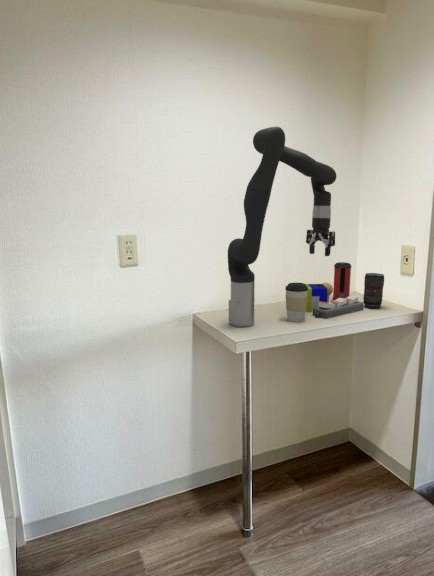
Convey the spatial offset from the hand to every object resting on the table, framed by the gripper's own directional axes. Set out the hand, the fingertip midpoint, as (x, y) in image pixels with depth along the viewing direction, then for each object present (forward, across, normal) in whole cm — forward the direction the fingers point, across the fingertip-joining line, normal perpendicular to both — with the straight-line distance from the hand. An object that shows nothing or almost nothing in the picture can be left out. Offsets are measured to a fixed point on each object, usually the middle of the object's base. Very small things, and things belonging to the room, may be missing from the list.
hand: (319, 254), depth 182 cm
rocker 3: (+20, +9, +11) cm, 25 cm away
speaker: (+24, -4, +20) cm, 31 cm away
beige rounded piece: (+24, -4, +9) cm, 26 cm away
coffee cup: (+24, +6, -19) cm, 31 cm away
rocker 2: (+20, +9, +3) cm, 23 cm away
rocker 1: (+20, +9, -4) cm, 23 cm away
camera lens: (+24, +12, +22) cm, 35 cm away
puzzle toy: (+24, -2, -1) cm, 24 cm away
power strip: (+24, +9, +3) cm, 26 cm away
